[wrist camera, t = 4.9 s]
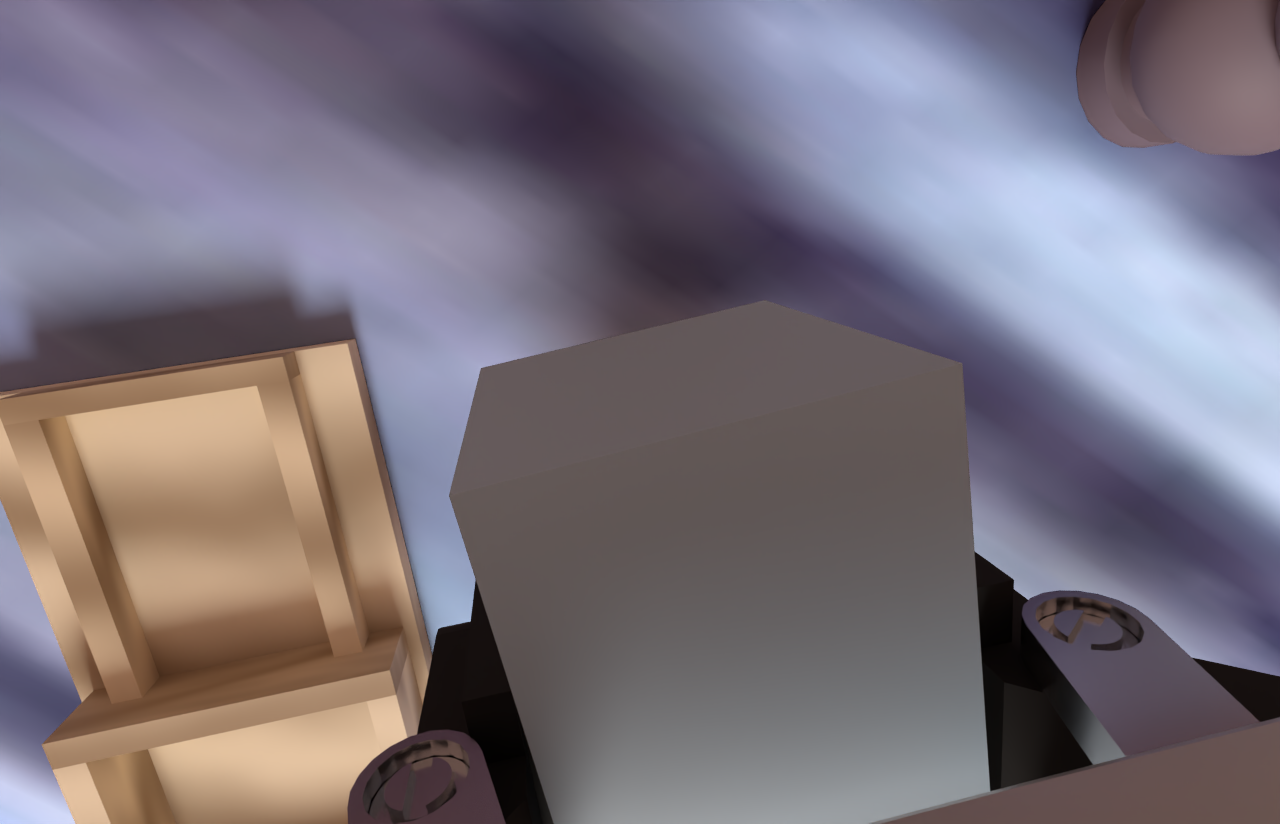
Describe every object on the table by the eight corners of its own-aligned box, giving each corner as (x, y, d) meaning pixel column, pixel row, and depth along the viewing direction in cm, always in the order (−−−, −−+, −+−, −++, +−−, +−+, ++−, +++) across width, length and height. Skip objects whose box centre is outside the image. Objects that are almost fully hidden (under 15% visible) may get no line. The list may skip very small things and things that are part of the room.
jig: (-11, 393, 23) (-117, 423, 19) (355, 338, 25) (325, 355, 21) (185, 898, 29) (134, 999, 25) (473, 827, 30) (467, 912, 26)
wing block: (481, 368, 10) (449, 495, 5) (764, 300, 11) (961, 363, 6) (604, 801, 13) (656, 1145, 8) (829, 731, 13) (1004, 1017, 8)
